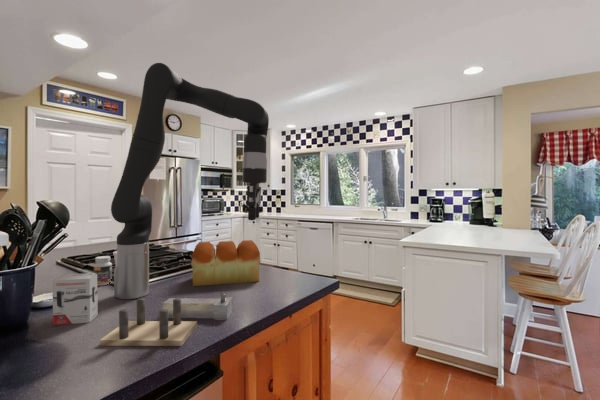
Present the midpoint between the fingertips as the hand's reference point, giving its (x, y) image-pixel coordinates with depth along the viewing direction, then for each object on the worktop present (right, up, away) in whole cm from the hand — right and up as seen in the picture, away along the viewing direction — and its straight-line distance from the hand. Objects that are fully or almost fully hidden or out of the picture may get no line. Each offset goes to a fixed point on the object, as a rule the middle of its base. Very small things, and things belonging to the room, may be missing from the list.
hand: (253, 218), depth 95 cm
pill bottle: (-58, -25, +16) cm, 65 cm away
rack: (-20, -26, -24) cm, 41 cm away
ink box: (-44, -26, -16) cm, 54 cm away
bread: (-14, -26, +23) cm, 37 cm away
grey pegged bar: (-14, -26, -12) cm, 32 cm away
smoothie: (-58, -25, +28) cm, 69 cm away
